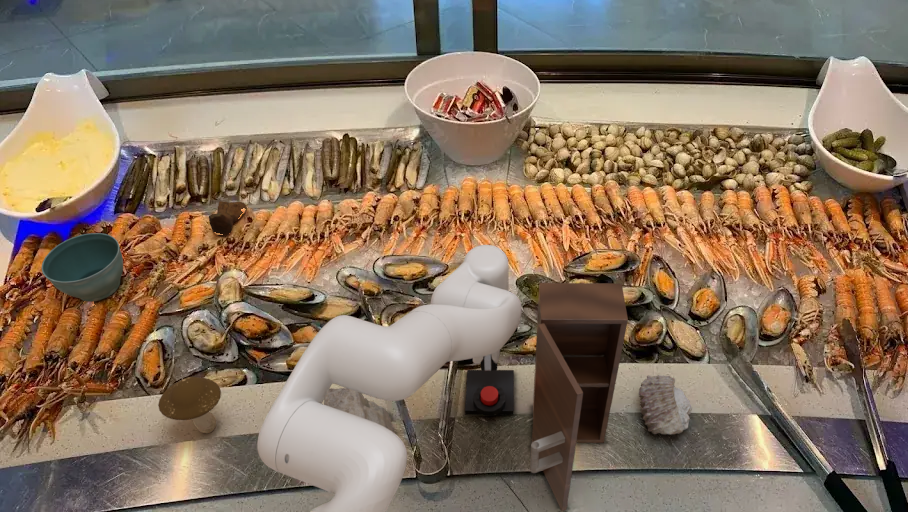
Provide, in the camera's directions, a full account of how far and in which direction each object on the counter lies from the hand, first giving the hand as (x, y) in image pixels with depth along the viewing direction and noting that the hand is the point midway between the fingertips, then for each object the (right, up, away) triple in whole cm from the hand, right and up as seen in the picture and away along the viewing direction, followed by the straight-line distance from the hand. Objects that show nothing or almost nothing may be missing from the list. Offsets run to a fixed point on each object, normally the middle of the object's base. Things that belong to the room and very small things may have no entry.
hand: (489, 366), depth 129 cm
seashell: (+36, -11, +8) cm, 38 cm away
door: (+9, -21, -3) cm, 23 cm away
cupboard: (+16, -13, +6) cm, 21 cm away
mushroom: (-57, -13, +5) cm, 59 cm away
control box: (0, -8, +11) cm, 14 cm away
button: (0, -8, +7) cm, 10 cm away
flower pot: (-96, +12, +33) cm, 102 cm away
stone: (-25, -15, +3) cm, 30 cm away
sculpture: (-73, +28, +50) cm, 93 cm away
